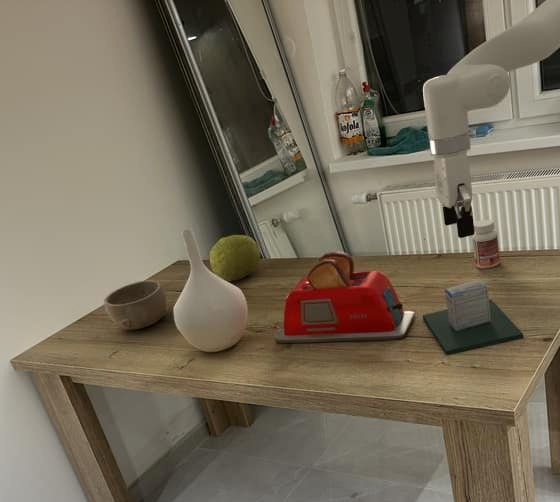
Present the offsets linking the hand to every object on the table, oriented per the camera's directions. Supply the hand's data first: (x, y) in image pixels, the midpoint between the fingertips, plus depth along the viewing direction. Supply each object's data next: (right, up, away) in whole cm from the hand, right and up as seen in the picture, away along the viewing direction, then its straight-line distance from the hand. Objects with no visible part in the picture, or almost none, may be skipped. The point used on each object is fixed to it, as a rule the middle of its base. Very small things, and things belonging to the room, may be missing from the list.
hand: (459, 229), depth 139 cm
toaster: (-21, -19, +24) cm, 37 cm away
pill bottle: (+18, -1, +40) cm, 43 cm away
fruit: (-49, +1, +77) cm, 91 cm away
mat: (+5, -19, +10) cm, 22 cm away
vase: (-52, -22, +34) cm, 65 cm away
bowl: (-76, -15, +60) cm, 98 cm away
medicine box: (+5, -19, +10) cm, 22 cm away
